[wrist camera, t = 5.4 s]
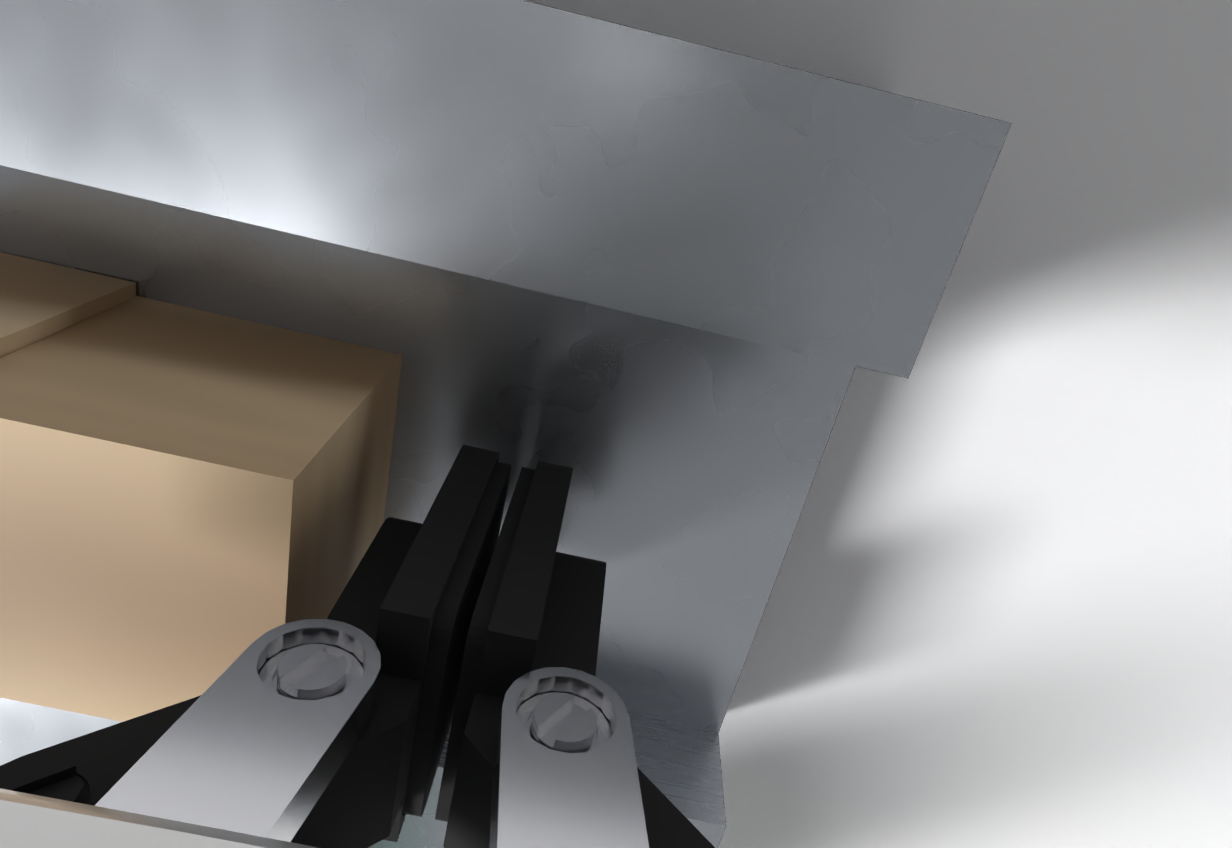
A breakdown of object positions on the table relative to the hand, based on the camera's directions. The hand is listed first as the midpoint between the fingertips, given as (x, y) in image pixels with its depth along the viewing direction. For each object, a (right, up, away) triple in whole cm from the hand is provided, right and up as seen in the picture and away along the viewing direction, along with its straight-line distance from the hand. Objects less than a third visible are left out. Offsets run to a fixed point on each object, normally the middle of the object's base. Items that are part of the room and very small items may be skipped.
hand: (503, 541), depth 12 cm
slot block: (-2, +2, +4) cm, 5 cm away
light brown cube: (-4, +1, +1) cm, 4 cm away
